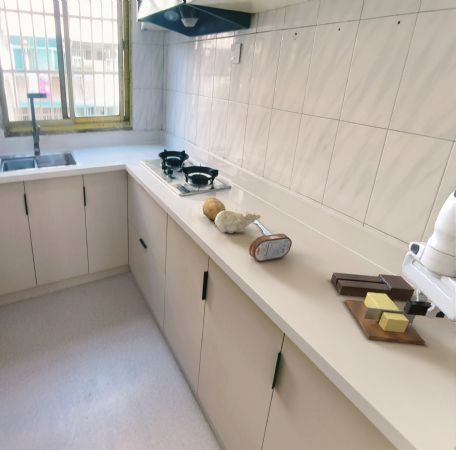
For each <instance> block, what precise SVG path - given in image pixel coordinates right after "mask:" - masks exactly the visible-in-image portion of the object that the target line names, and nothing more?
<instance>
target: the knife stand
mask: <svg viewBox="0 0 456 450" xmlns="http://www.w3.org/2000/svg"><path fill="white" fill-rule="evenodd" d="M330 282H331V285H333V287H334V288H335V290H336V291H337V294H339V295H340V296H349V297H359V298H361V297H362V298H366V296H367V293H368V292H370V293H380V294H386V295H387V296H388V297H389V298H390V299H391V301H400V302H401V301H403V302H407V300H410V301H412V298H413V295H414V293H415V289H414V287H412V286H411V284H410V283H409V282H407V281H406V280H405V279H404V277H403V276H401V275H393V274H382V273H379V274H378V275H367V274H357V273H355V274H354V273H346V272H336V271H335V272H332V275H331V279H330Z"/></svg>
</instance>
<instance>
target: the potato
mask: <svg viewBox="0 0 456 450" xmlns="http://www.w3.org/2000/svg"><path fill="white" fill-rule="evenodd" d="M201 209H202V213H203V215H204V216H205V217H206V218H208V219H209V220H212V221H215V219H216V216H217V214H219V213H220V212H221V211H227V209H226V205H225V204H224V202H222V201H221V200H220V199H218V197H215V196H209V197H206V198H205V199H204V201H203V203H202V208H201Z"/></svg>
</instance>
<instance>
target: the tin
mask: <svg viewBox="0 0 456 450" xmlns="http://www.w3.org/2000/svg"><path fill="white" fill-rule="evenodd" d="M292 245H293V241H292V239H291V238H290V237H289V236H287V234H285V233H275V234H273V233H272V235H265V234H264V235H260V236H258V237H256V238H254V240H252V242H251V244H250V246H249V248H248V252H249V256H250V257H251V258H253V259H254V260H255V261H257V262H264V261H265V262H266V261H272V260H278V259H282V258H284V257H286V256H287V255H288V253H289V252H290V250H291V248H292Z"/></svg>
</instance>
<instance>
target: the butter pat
mask: <svg viewBox="0 0 456 450" xmlns="http://www.w3.org/2000/svg"><path fill="white" fill-rule="evenodd" d="M408 322H409V320H408V319H407V318H406V317H405V316H404V315H403V314H397V313H387V312H383V314H382V317H381V319H380V322H379V325H380V326H381V327H382V329H383V330H384V331H393V332H403V333H404V331H405V329H406V327H407V324H408Z"/></svg>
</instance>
